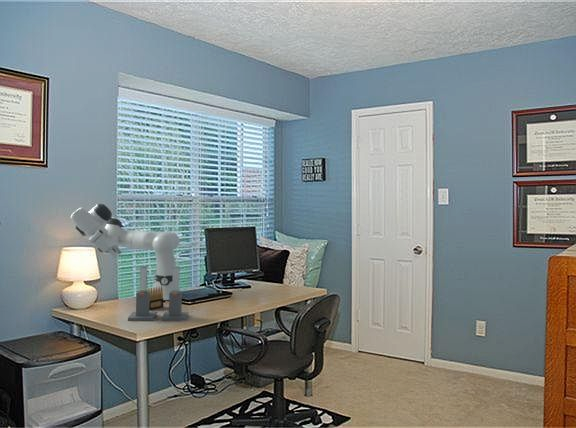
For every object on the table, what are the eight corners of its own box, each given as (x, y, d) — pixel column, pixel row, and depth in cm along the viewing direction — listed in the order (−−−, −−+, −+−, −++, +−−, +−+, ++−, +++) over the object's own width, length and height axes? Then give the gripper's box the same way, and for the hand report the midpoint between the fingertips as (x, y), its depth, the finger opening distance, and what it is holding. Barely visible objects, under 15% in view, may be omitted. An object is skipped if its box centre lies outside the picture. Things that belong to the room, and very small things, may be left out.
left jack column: (140, 299, 253) (141, 266, 253) (146, 299, 253) (147, 266, 253) (139, 300, 250) (139, 267, 249) (145, 301, 250) (146, 267, 250)
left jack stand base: (132, 314, 257) (133, 289, 257) (156, 314, 259) (157, 289, 258) (127, 320, 246) (128, 293, 245) (152, 320, 247) (153, 294, 246)
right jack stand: (164, 314, 259) (165, 264, 258) (188, 314, 261) (189, 265, 260) (161, 320, 247) (162, 268, 246) (186, 320, 249) (187, 268, 248)
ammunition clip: (148, 310, 267) (148, 288, 267) (145, 310, 268) (146, 287, 268) (163, 307, 276) (164, 285, 276) (161, 306, 277) (161, 285, 277)
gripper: (99, 237, 258) (118, 256, 260) (88, 241, 238) (108, 261, 239) (108, 228, 259) (127, 248, 260) (97, 231, 238) (118, 252, 240)
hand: (118, 254), depth 250 cm, fingers open, 8 cm apart
